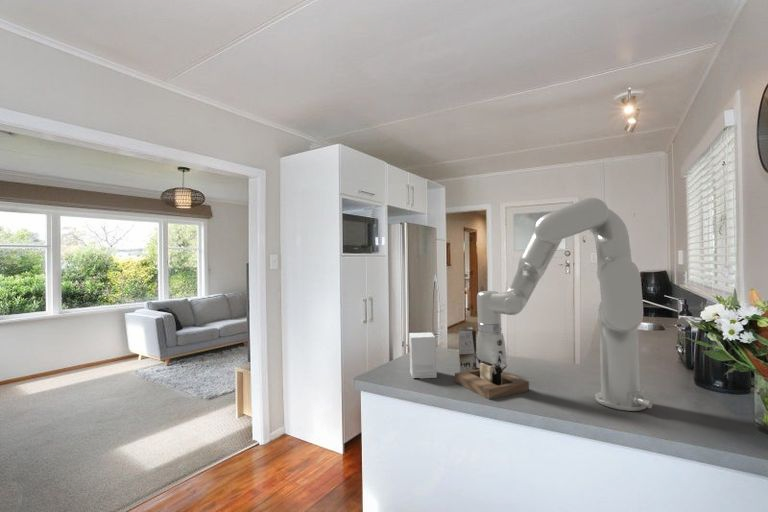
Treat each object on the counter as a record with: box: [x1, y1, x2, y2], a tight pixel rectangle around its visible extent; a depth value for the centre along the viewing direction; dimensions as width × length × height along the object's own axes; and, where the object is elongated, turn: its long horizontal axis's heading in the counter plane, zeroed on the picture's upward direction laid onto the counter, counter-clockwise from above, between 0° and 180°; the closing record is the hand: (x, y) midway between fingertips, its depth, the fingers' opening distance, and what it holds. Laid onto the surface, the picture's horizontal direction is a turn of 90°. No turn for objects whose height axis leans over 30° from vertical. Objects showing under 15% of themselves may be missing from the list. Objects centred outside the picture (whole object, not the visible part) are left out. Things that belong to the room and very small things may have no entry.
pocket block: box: [454, 368, 530, 400], centre depth 125 cm, size 18×16×3 cm
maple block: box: [479, 362, 502, 385], centre depth 125 cm, size 5×5×7 cm
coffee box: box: [458, 326, 477, 372], centre depth 143 cm, size 9×6×16 cm
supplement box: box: [408, 332, 437, 380], centre depth 139 cm, size 9×9×15 cm
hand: (491, 382), depth 125 cm, fingers closed on maple block, 5 cm apart
